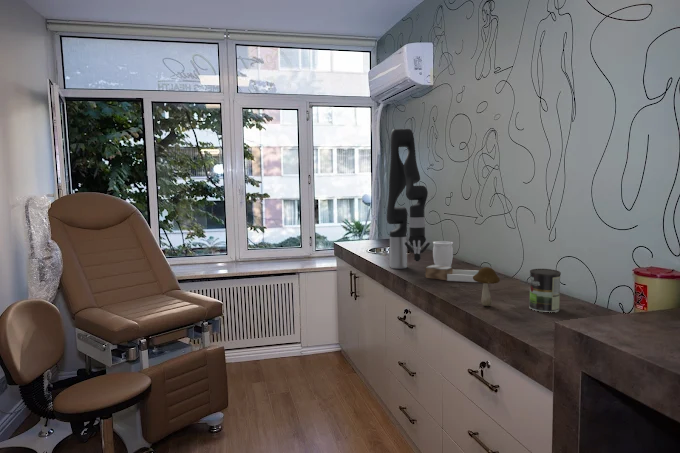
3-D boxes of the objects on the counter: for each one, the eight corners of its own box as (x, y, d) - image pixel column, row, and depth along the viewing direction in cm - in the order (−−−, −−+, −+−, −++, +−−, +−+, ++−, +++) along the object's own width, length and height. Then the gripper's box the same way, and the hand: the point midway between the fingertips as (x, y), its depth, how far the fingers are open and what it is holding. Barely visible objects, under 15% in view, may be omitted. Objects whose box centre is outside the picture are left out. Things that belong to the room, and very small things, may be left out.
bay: (447, 280, 216) (447, 274, 216) (449, 275, 228) (449, 269, 228) (480, 282, 211) (480, 275, 211) (481, 276, 223) (481, 270, 223)
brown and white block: (425, 277, 224) (425, 266, 224) (431, 275, 230) (431, 264, 229) (446, 280, 218) (446, 269, 217) (452, 277, 223) (452, 266, 223)
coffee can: (538, 313, 162) (538, 274, 161) (524, 305, 172) (524, 269, 171) (565, 312, 163) (566, 273, 161) (550, 304, 173) (551, 268, 172)
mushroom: (488, 300, 180) (488, 263, 178) (505, 308, 169) (505, 269, 167) (467, 302, 178) (467, 265, 176) (482, 311, 167) (483, 270, 165)
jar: (453, 272, 235) (453, 243, 233) (432, 271, 237) (432, 243, 235) (452, 268, 245) (452, 240, 244) (432, 267, 247) (432, 240, 246)
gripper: (402, 226, 223) (402, 261, 225) (429, 227, 219) (429, 262, 220) (405, 225, 230) (405, 259, 232) (431, 225, 226) (432, 260, 227)
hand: (417, 261), depth 226 cm, fingers closed
